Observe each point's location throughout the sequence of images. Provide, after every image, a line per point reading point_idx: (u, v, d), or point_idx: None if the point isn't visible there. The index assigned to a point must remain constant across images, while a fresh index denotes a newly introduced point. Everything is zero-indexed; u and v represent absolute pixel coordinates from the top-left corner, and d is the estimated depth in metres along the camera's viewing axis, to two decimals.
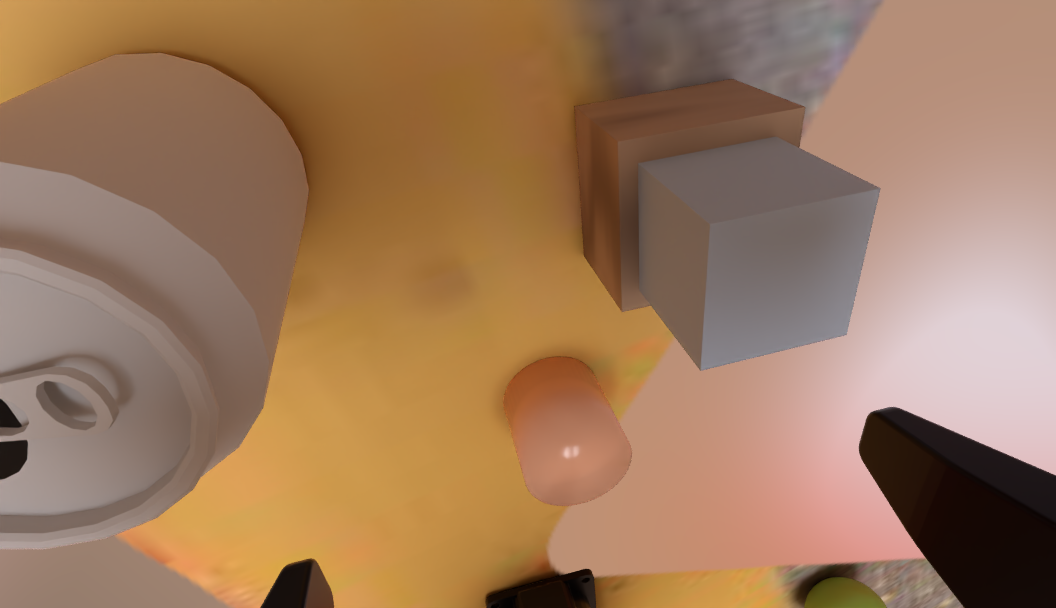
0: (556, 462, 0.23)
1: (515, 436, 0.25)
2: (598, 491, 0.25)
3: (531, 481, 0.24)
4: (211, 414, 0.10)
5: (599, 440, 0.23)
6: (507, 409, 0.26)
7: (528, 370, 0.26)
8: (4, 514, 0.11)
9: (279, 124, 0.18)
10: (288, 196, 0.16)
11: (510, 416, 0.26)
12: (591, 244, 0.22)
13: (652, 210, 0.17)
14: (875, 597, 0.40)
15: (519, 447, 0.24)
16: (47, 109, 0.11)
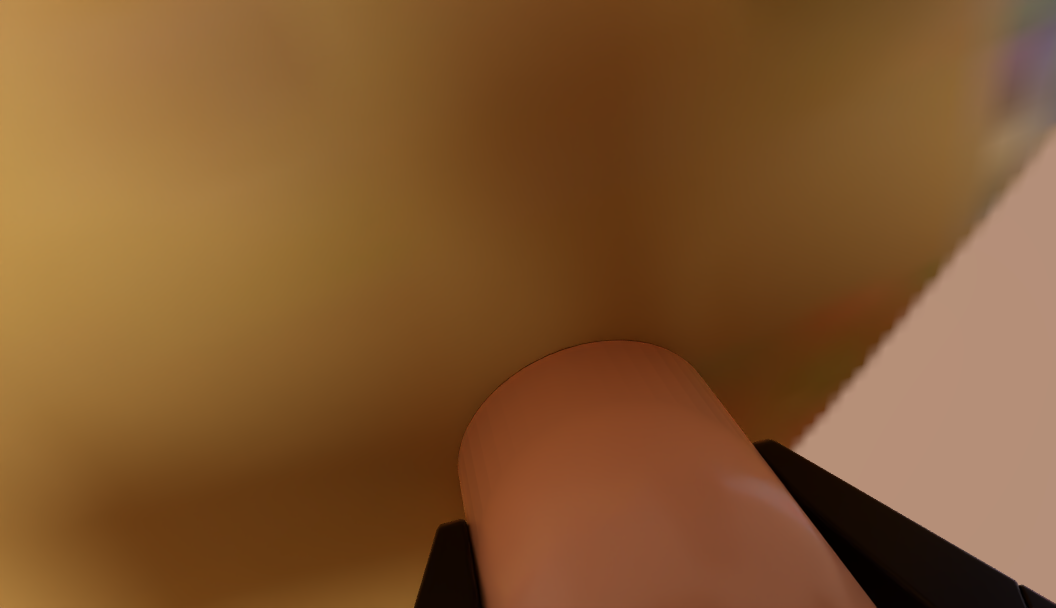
0: None
1: (485, 606, 0.07)
2: None
3: None
4: None
5: None
6: (466, 498, 0.09)
7: (528, 380, 0.09)
8: None
9: None
10: None
11: (472, 526, 0.08)
12: None
13: None
14: None
15: None
16: None
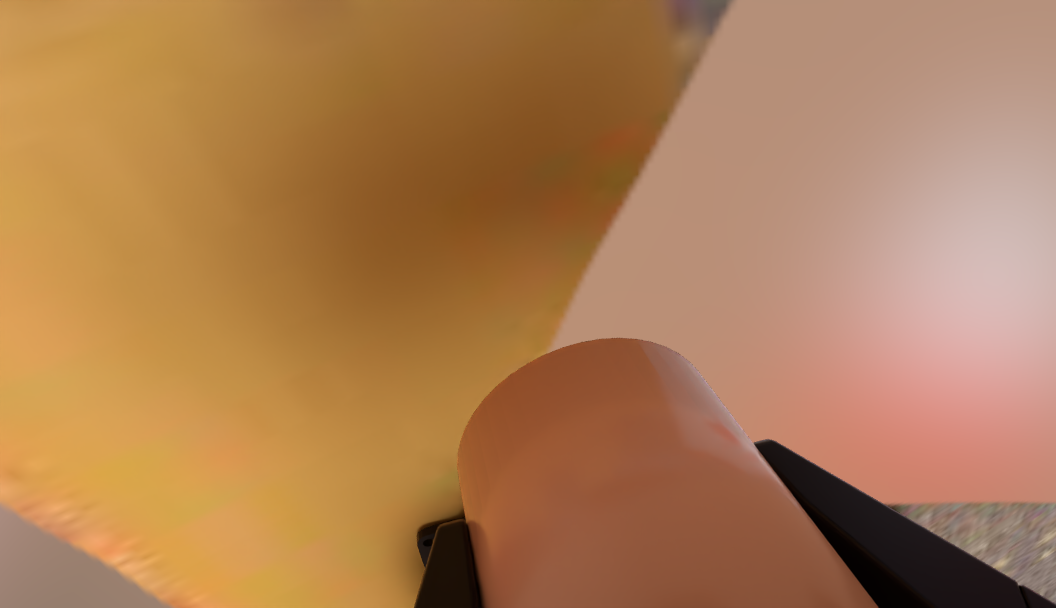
0: None
1: (484, 604, 0.07)
2: None
3: None
4: None
5: None
6: (465, 496, 0.09)
7: (527, 378, 0.09)
8: None
9: None
10: None
11: (472, 523, 0.08)
12: None
13: None
14: None
15: None
16: None
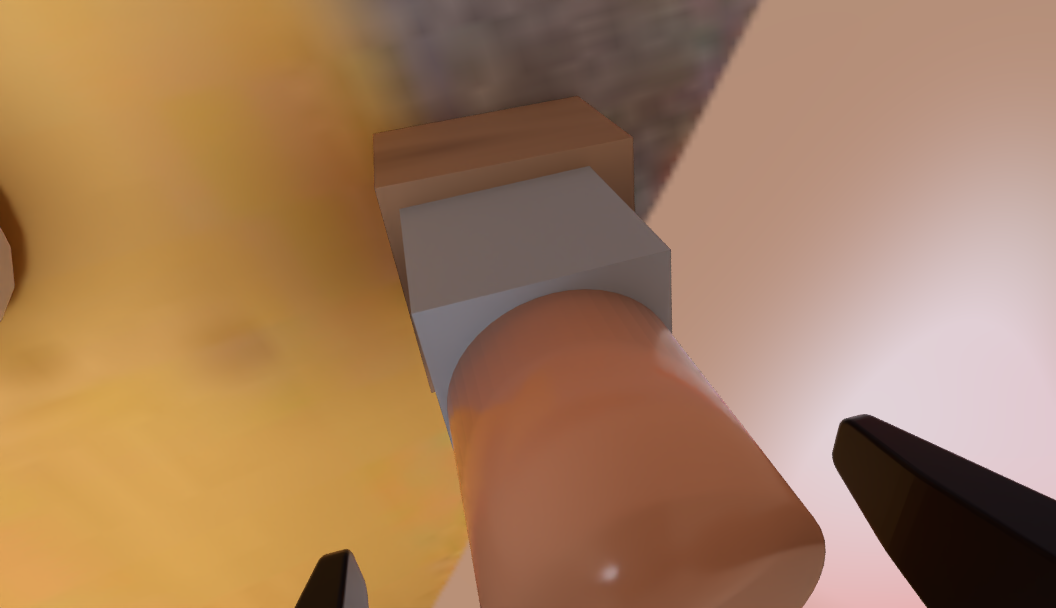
0: None
1: (467, 513, 0.09)
2: None
3: None
4: None
5: (735, 537, 0.07)
6: (452, 431, 0.10)
7: (503, 325, 0.10)
8: None
9: None
10: None
11: (457, 451, 0.09)
12: None
13: None
14: None
15: (475, 553, 0.08)
16: None
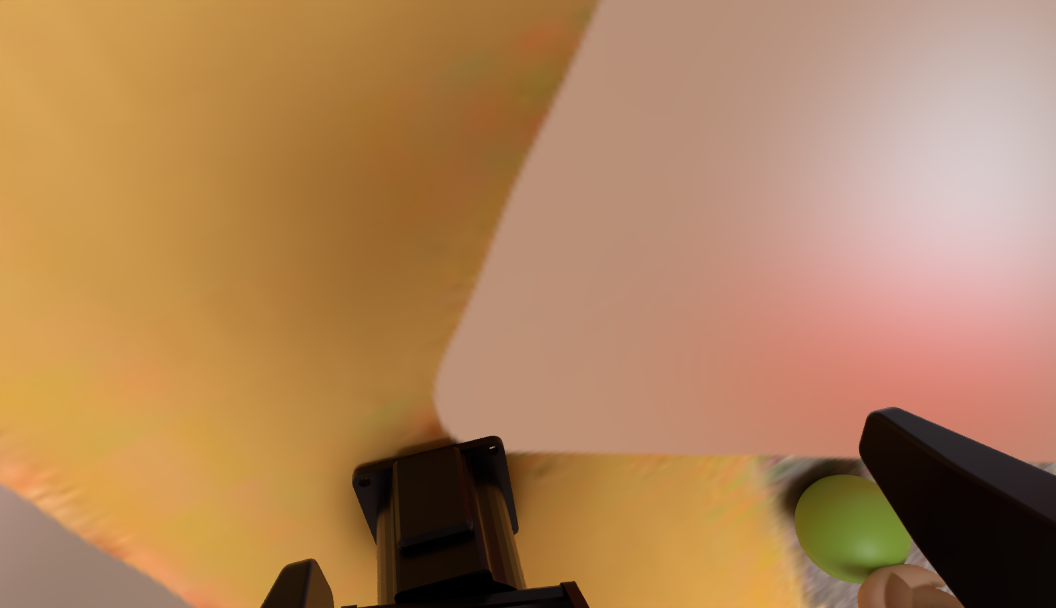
0: None
1: None
2: None
3: None
4: None
5: None
6: None
7: None
8: None
9: None
10: None
11: None
12: None
13: None
14: None
15: None
16: None
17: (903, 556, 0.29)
